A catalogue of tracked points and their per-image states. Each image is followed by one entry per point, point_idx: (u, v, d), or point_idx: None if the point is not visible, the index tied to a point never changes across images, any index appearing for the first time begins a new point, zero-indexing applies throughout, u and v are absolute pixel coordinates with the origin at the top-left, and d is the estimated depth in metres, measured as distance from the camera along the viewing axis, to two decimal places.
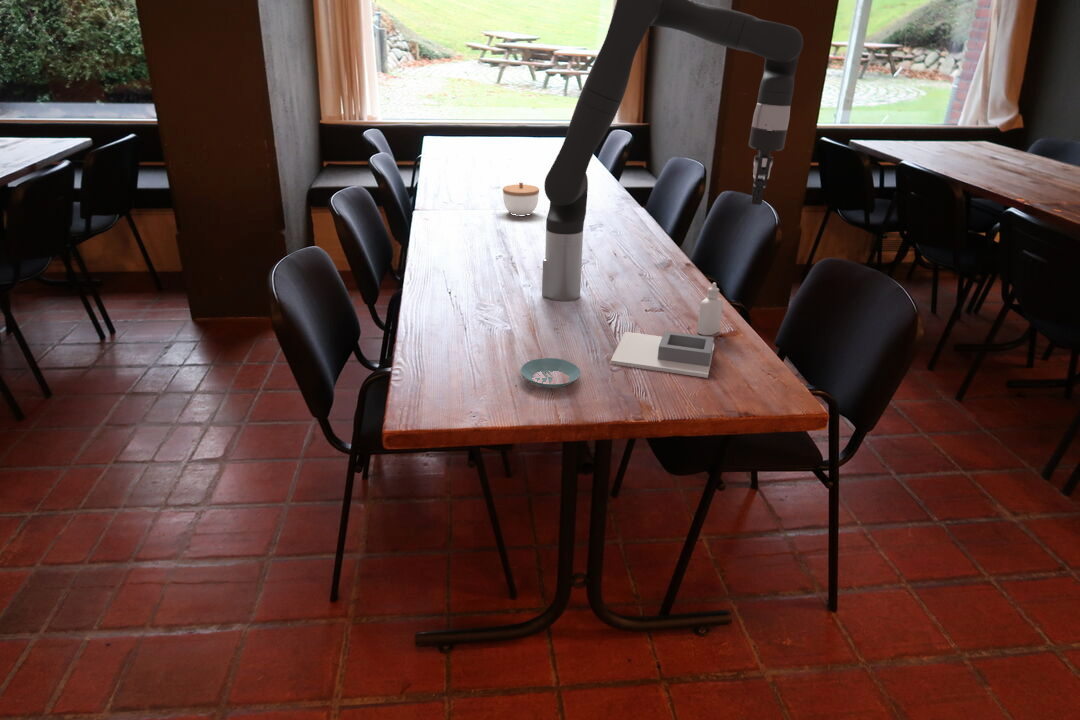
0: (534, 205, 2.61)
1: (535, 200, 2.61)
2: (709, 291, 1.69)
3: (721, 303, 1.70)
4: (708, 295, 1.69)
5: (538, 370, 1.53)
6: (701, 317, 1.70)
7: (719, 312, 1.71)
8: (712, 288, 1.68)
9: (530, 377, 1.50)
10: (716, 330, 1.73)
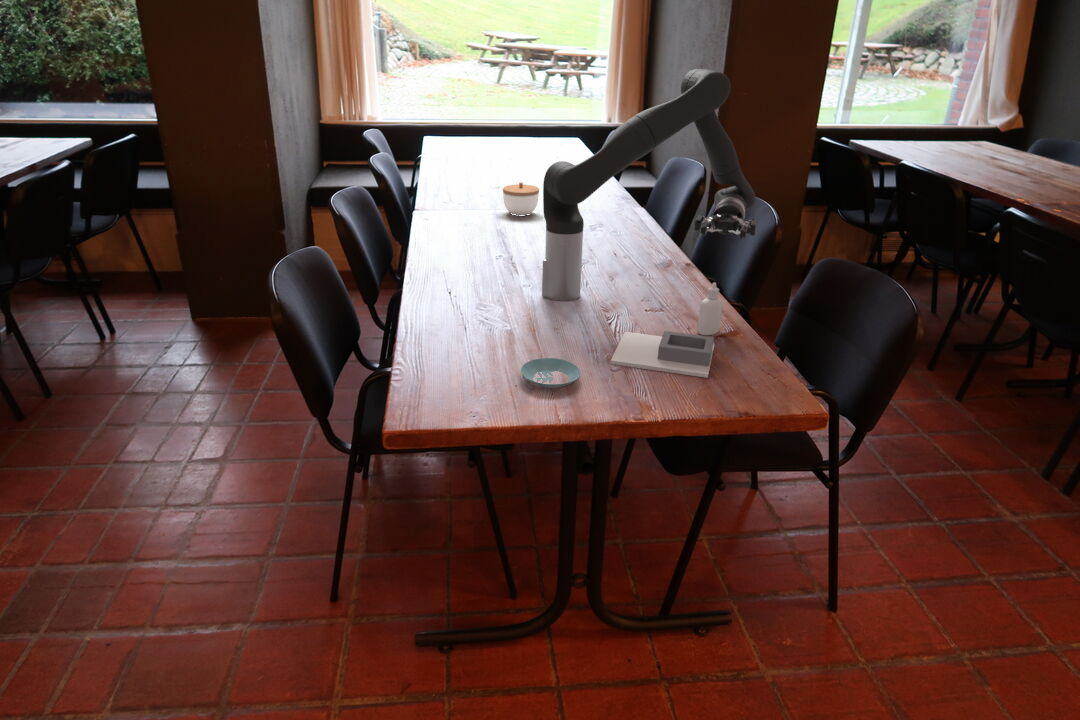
0: (534, 205, 2.61)
1: (535, 200, 2.61)
2: (709, 291, 1.69)
3: (721, 303, 1.70)
4: (708, 295, 1.69)
5: (538, 370, 1.53)
6: (701, 317, 1.70)
7: (719, 312, 1.71)
8: (712, 288, 1.68)
9: (530, 377, 1.50)
10: (716, 330, 1.73)
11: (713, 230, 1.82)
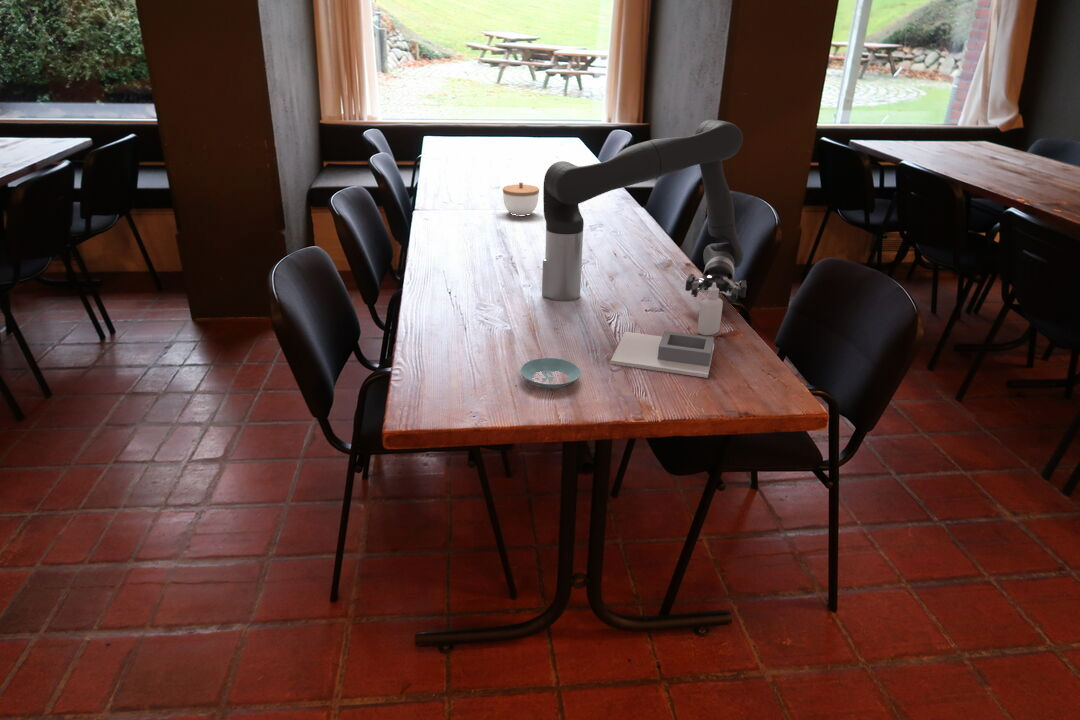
0: (534, 205, 2.61)
1: (535, 200, 2.61)
2: (709, 291, 1.69)
3: (721, 303, 1.70)
4: (708, 295, 1.69)
5: (538, 370, 1.53)
6: (701, 317, 1.70)
7: (719, 312, 1.71)
8: (712, 288, 1.68)
9: (530, 377, 1.50)
10: (716, 330, 1.73)
11: (704, 291, 1.84)
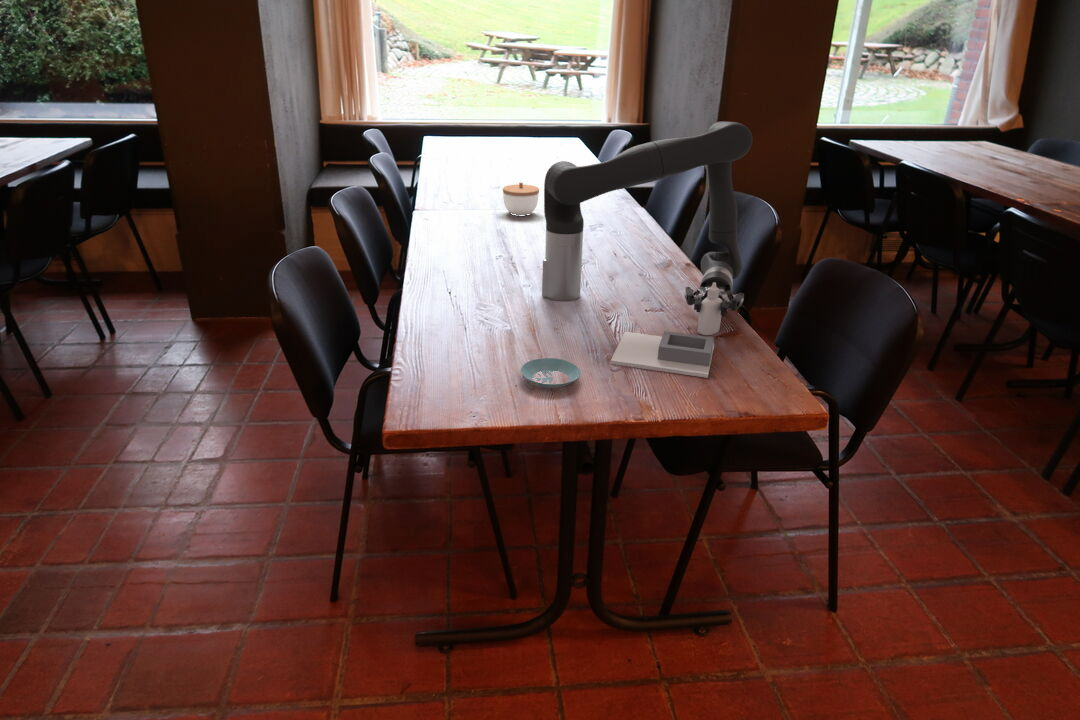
0: (534, 205, 2.61)
1: (535, 200, 2.61)
2: (709, 291, 1.69)
3: (721, 303, 1.70)
4: (708, 295, 1.69)
5: (538, 370, 1.53)
6: (701, 317, 1.70)
7: (719, 311, 1.71)
8: (712, 288, 1.68)
9: (530, 377, 1.50)
10: (716, 330, 1.73)
11: None
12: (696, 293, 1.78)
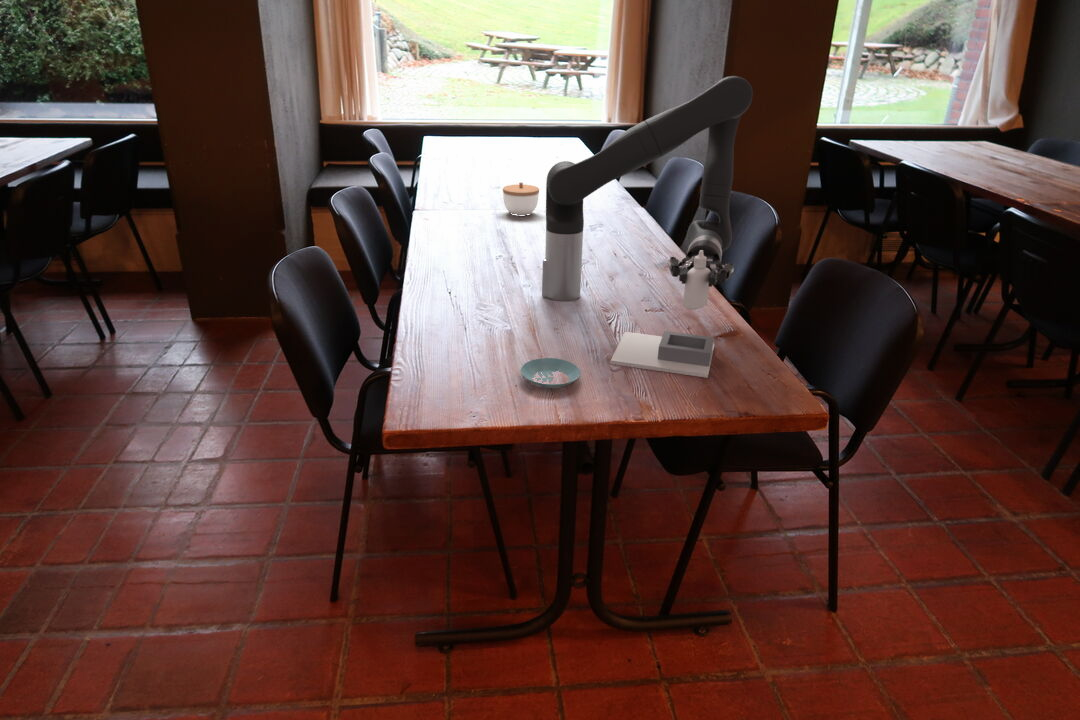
0: (534, 205, 2.61)
1: (535, 200, 2.61)
2: (696, 260, 1.52)
3: (709, 273, 1.54)
4: (695, 264, 1.53)
5: (538, 370, 1.53)
6: (687, 289, 1.54)
7: (707, 283, 1.55)
8: (699, 256, 1.52)
9: (530, 377, 1.50)
10: (704, 303, 1.56)
11: None
12: (682, 264, 1.62)
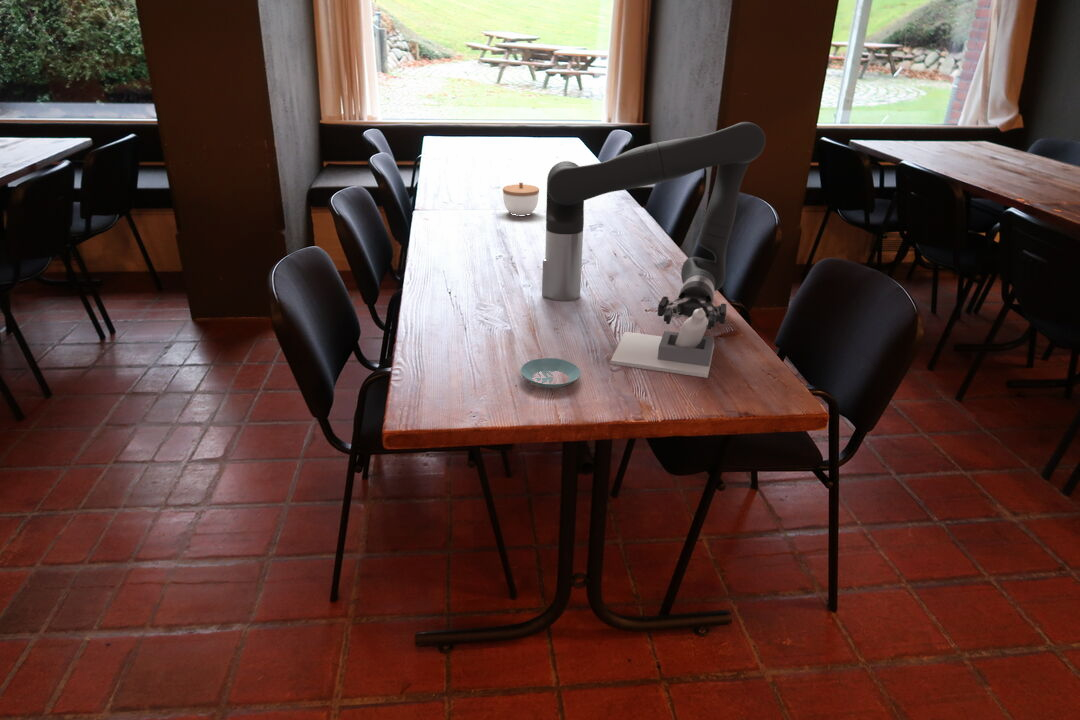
0: (534, 205, 2.61)
1: (535, 200, 2.61)
2: (694, 316, 1.51)
3: (705, 325, 1.53)
4: (692, 318, 1.52)
5: (538, 370, 1.53)
6: (680, 336, 1.55)
7: (702, 332, 1.55)
8: (698, 314, 1.50)
9: (530, 377, 1.50)
10: (696, 345, 1.58)
11: (678, 316, 1.62)
12: None
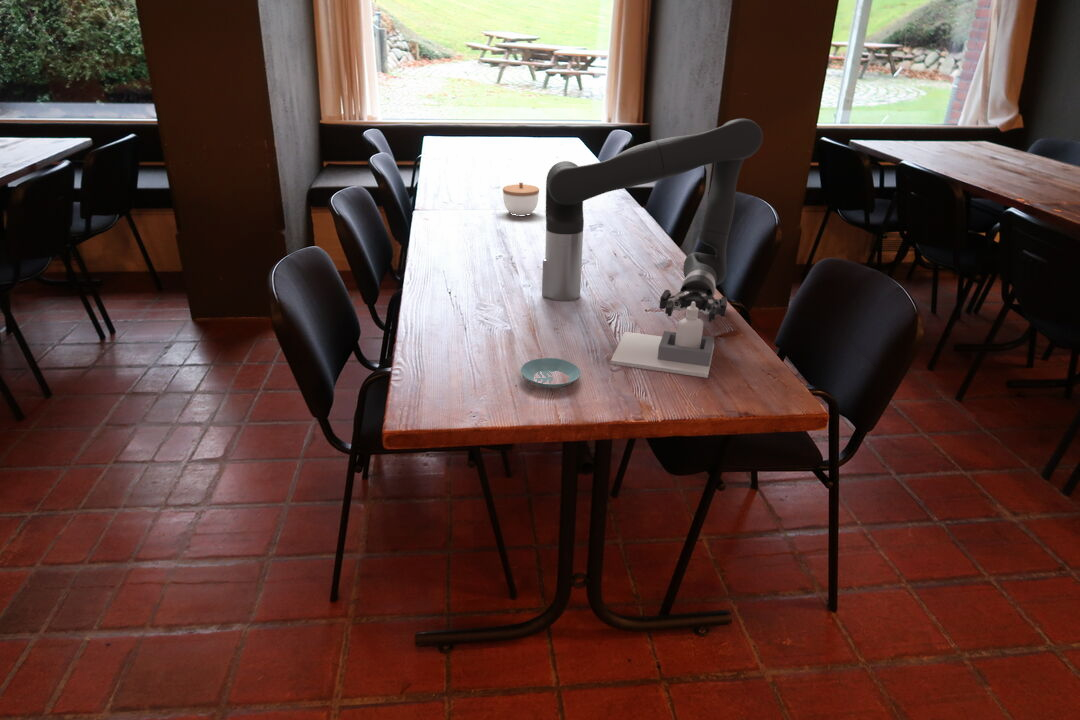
0: (534, 205, 2.61)
1: (535, 200, 2.61)
2: (687, 310, 1.55)
3: (701, 325, 1.57)
4: (686, 315, 1.56)
5: (538, 370, 1.53)
6: (677, 338, 1.57)
7: (698, 334, 1.57)
8: (691, 307, 1.55)
9: (530, 377, 1.50)
10: None
11: (680, 309, 1.66)
12: None
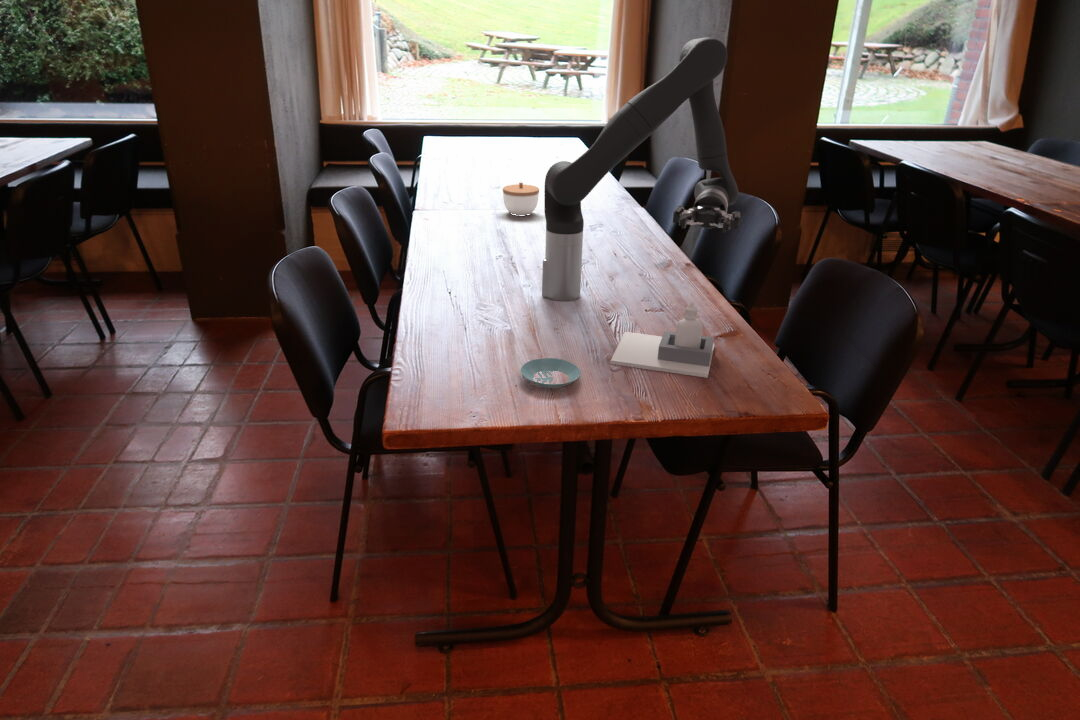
0: (534, 205, 2.61)
1: (535, 200, 2.61)
2: (686, 311, 1.55)
3: (700, 325, 1.56)
4: (685, 315, 1.56)
5: (538, 370, 1.53)
6: (677, 338, 1.57)
7: (698, 334, 1.57)
8: (690, 308, 1.55)
9: (530, 377, 1.50)
10: None
11: (693, 223, 1.66)
12: None
